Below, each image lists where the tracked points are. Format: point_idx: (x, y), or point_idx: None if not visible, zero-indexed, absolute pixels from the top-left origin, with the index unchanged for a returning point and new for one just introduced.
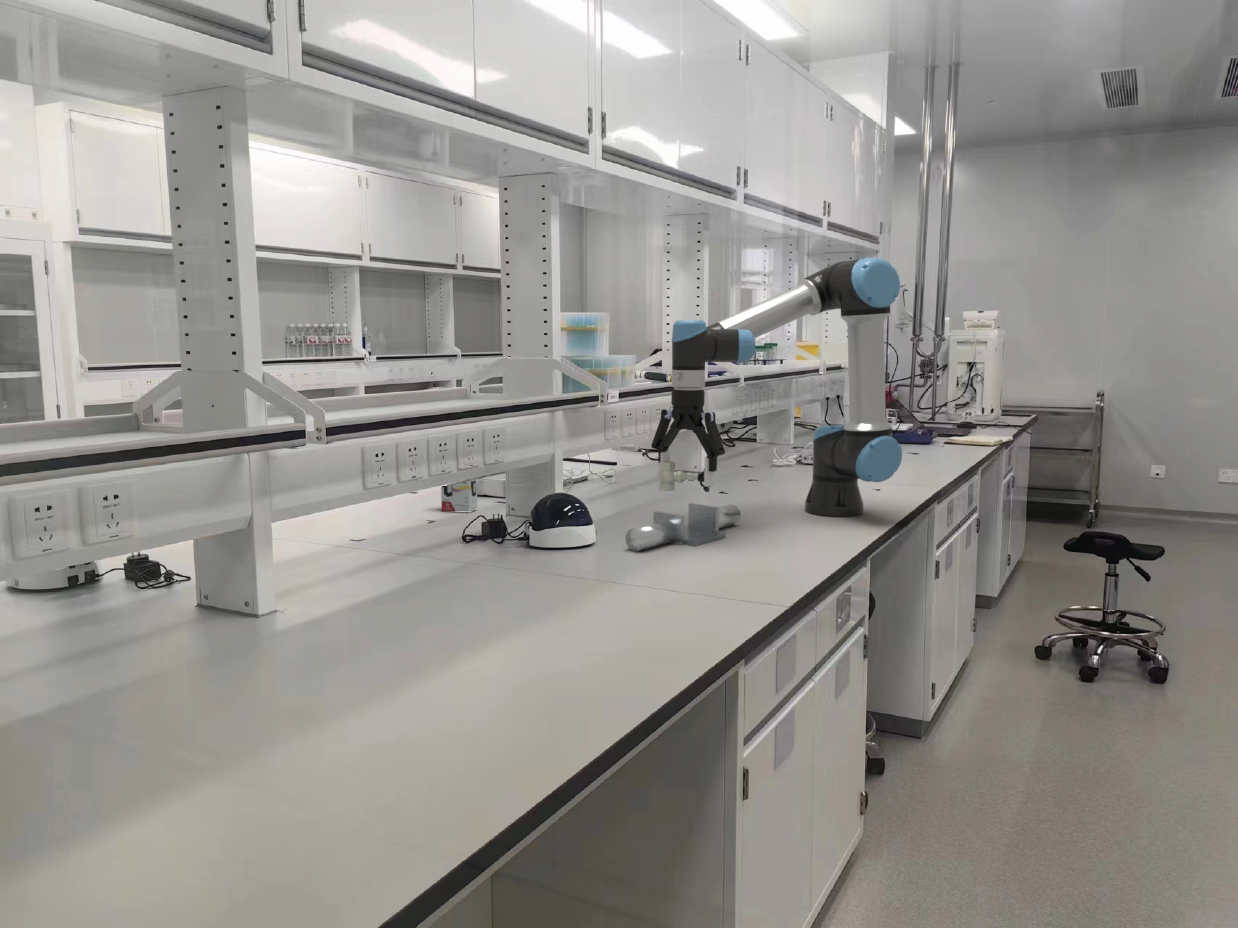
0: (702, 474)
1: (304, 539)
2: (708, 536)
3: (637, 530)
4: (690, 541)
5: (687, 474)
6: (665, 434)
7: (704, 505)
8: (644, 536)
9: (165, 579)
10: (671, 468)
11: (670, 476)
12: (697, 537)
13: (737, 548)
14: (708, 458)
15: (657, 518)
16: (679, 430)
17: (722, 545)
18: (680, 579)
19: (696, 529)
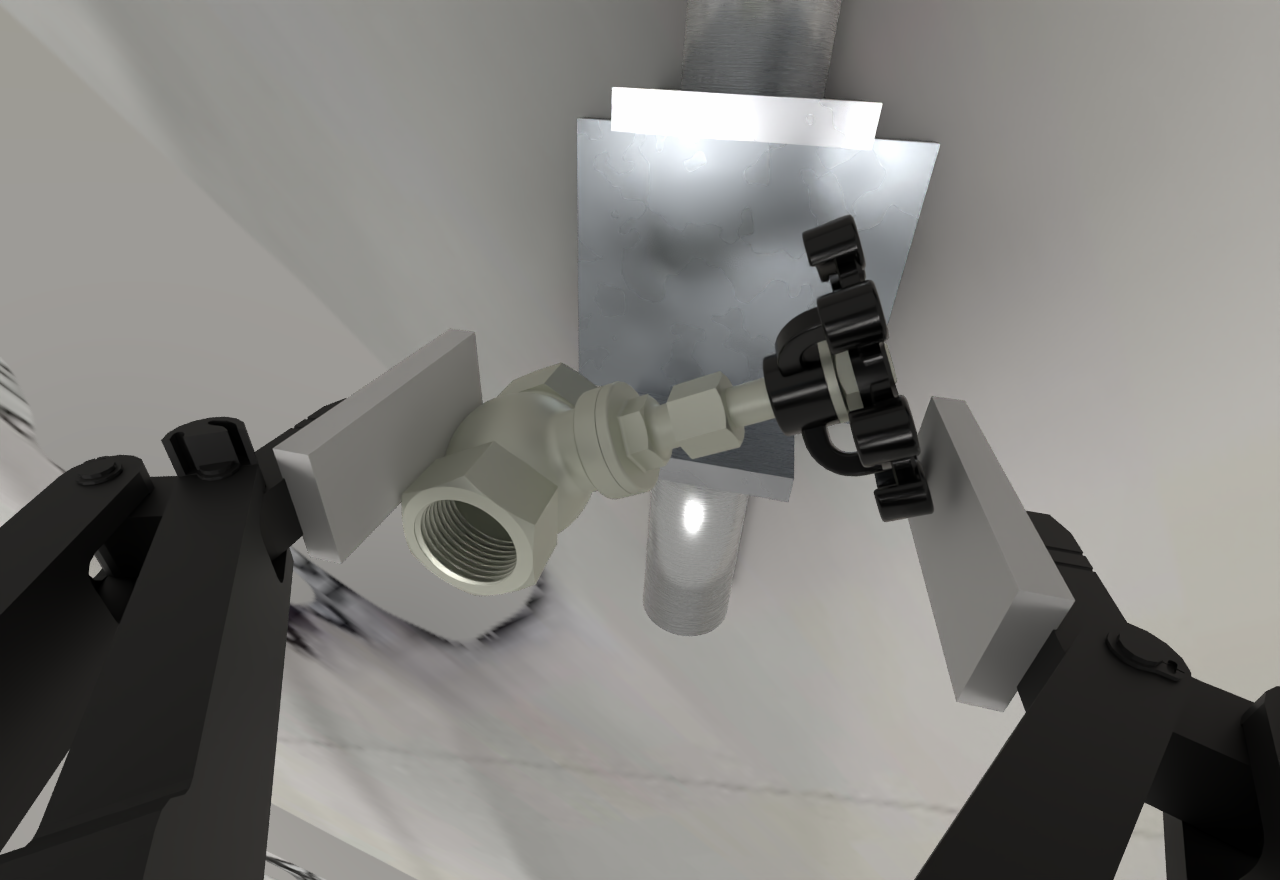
0: (857, 475)
1: None
2: None
3: (695, 635)
4: None
5: (674, 437)
6: (8, 617)
7: (746, 117)
8: (722, 613)
9: (294, 872)
10: (552, 533)
11: (581, 510)
12: None
13: (1082, 347)
14: (1010, 687)
15: None
16: (196, 806)
17: (980, 333)
18: (987, 751)
19: (735, 178)
